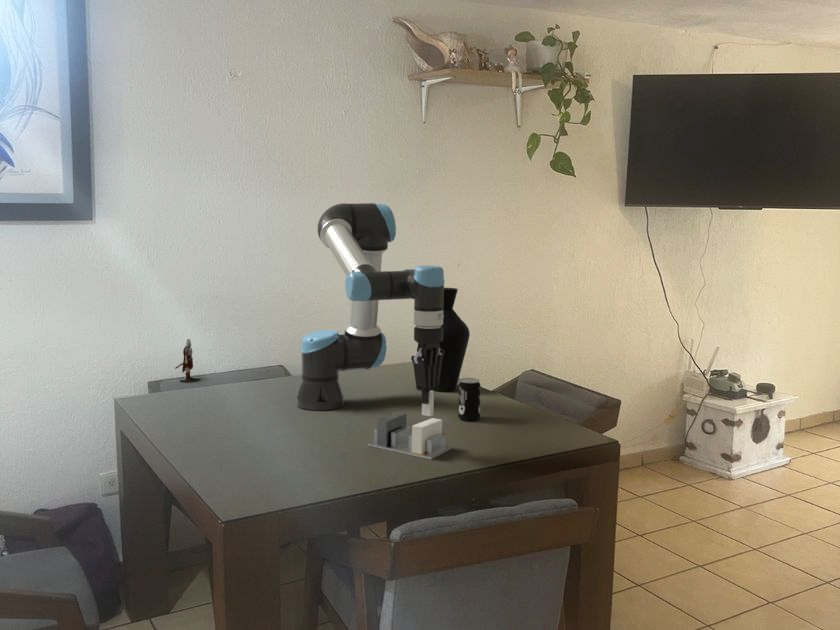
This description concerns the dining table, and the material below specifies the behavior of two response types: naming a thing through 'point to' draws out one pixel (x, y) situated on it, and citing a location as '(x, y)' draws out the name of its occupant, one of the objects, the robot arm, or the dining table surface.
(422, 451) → the blank panel
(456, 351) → the vase
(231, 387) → the dining table surface
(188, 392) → the dining table surface
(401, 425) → the rack
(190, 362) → the figurine
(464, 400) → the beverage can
